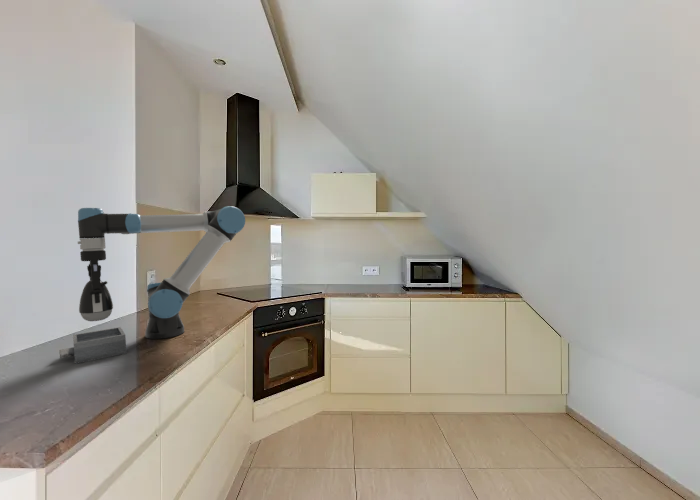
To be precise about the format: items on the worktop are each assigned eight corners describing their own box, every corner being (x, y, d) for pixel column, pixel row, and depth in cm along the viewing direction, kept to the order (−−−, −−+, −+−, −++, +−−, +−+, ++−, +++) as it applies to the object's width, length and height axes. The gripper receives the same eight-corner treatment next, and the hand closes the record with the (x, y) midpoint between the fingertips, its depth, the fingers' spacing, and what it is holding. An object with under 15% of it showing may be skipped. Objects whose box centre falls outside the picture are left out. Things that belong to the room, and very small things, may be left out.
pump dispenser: (96, 323, 122) (93, 280, 122) (72, 322, 125) (69, 281, 124) (120, 316, 132) (118, 277, 132) (98, 316, 135) (95, 277, 134)
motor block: (121, 344, 140) (120, 327, 139) (126, 353, 128) (125, 334, 128) (60, 355, 128) (59, 337, 127) (59, 366, 116) (58, 346, 116)
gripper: (79, 250, 134) (83, 306, 135) (81, 251, 116) (85, 316, 117) (103, 249, 139) (106, 303, 140) (108, 249, 121) (112, 312, 122)
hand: (96, 309), depth 128 cm, fingers closed on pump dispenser, 10 cm apart
